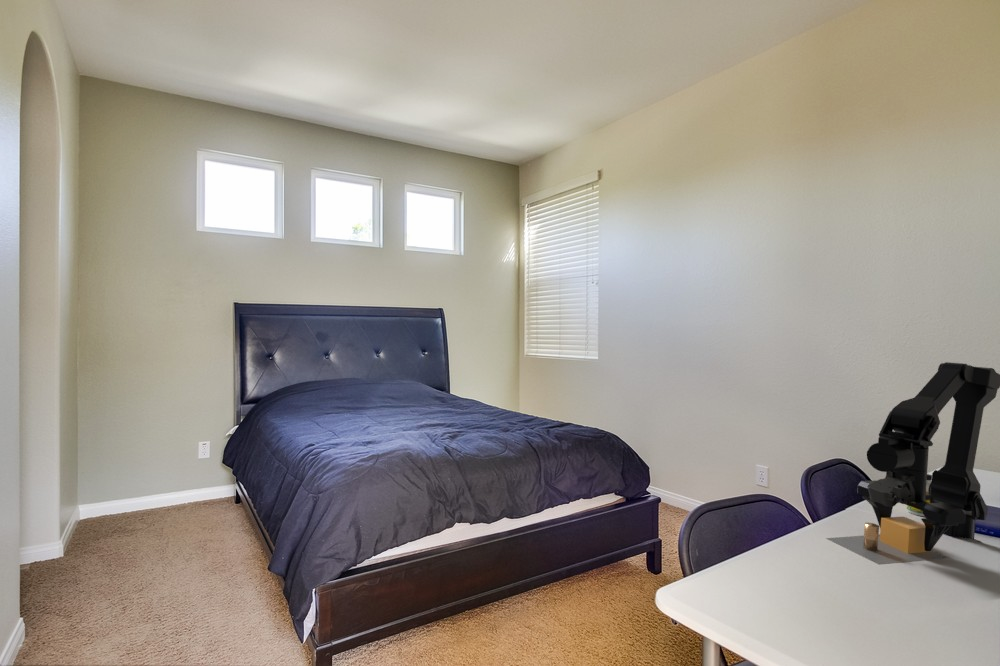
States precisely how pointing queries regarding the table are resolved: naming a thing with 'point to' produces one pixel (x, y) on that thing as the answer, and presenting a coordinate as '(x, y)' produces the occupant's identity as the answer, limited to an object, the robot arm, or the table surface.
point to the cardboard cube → (903, 534)
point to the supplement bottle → (912, 509)
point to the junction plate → (883, 551)
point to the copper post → (871, 537)
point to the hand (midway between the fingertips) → (904, 541)
